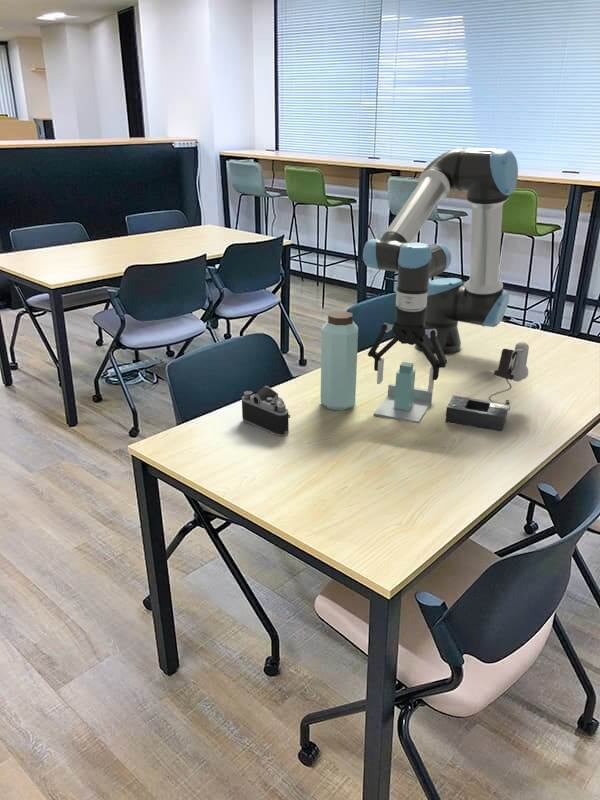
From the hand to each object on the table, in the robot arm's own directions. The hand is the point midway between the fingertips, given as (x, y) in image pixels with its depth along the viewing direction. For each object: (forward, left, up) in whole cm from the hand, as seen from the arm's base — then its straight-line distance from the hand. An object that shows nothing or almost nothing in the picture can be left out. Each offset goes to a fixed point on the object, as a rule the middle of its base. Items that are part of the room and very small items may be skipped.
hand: (404, 386), depth 165 cm
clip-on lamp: (-12, +25, -7) cm, 28 cm away
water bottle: (+4, -17, -7) cm, 19 cm away
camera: (+22, -28, -7) cm, 36 cm away
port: (0, +19, -7) cm, 20 cm away
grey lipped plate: (0, 0, -7) cm, 7 cm away
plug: (0, 0, -6) cm, 6 cm away
